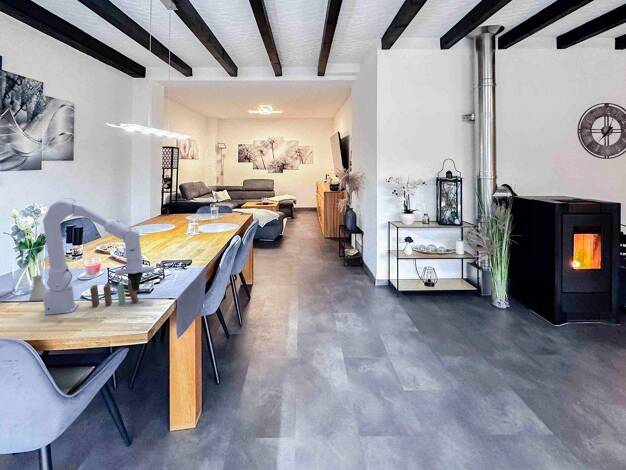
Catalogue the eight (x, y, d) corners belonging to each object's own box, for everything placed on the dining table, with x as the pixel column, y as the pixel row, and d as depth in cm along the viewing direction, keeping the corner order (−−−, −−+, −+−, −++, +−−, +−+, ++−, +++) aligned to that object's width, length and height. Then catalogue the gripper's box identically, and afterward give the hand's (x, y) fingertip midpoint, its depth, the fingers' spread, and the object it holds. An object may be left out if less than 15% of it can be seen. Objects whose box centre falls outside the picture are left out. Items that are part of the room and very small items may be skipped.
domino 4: (132, 303, 153) (127, 285, 151) (134, 299, 157) (129, 282, 155) (136, 302, 153) (131, 284, 151) (138, 299, 157) (132, 281, 155)
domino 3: (119, 304, 151) (117, 286, 150) (121, 301, 155) (119, 283, 154) (123, 304, 152) (121, 285, 150) (125, 300, 156) (123, 282, 154)
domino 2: (105, 306, 150) (103, 287, 148) (108, 302, 154) (105, 284, 152) (109, 305, 150) (107, 287, 149) (112, 302, 154) (109, 283, 153)
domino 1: (92, 307, 149) (90, 288, 147) (95, 303, 153) (93, 285, 151) (96, 307, 149) (94, 288, 148) (99, 303, 153) (97, 285, 151)
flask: (39, 302, 154) (36, 279, 152) (25, 301, 156) (21, 278, 154) (55, 296, 161) (51, 274, 159) (41, 295, 163) (37, 273, 161)
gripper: (112, 262, 146) (115, 295, 149) (151, 259, 150) (154, 291, 153) (115, 258, 152) (119, 289, 155) (153, 255, 157) (156, 286, 159)
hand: (137, 290), depth 154 cm, fingers closed
